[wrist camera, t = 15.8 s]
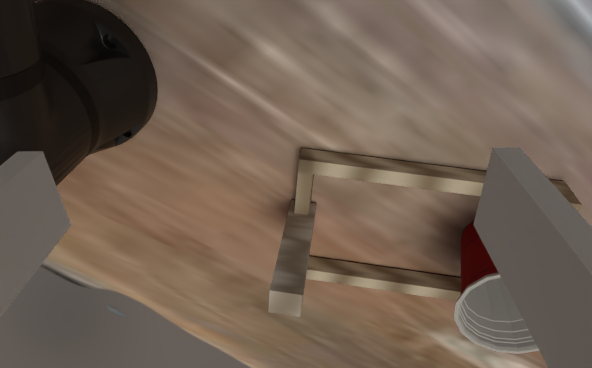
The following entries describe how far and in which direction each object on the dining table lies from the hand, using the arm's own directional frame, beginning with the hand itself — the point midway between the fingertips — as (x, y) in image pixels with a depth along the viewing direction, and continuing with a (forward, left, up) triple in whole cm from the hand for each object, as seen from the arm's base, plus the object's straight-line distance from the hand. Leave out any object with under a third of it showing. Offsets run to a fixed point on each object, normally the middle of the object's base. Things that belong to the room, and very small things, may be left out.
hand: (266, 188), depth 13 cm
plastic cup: (+21, -24, -30) cm, 44 cm away
